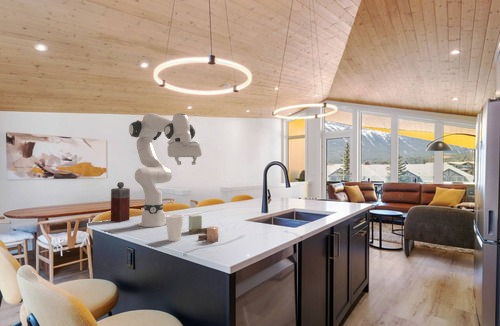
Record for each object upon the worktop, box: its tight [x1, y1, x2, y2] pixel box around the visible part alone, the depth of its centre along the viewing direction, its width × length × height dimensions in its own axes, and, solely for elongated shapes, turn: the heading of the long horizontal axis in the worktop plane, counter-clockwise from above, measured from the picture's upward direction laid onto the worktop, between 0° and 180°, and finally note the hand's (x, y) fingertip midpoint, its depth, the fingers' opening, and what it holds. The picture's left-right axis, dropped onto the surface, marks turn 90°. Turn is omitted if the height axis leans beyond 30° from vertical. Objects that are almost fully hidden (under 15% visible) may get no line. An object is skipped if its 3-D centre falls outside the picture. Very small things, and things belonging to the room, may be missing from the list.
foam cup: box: [165, 213, 185, 242], centre depth 151 cm, size 10×9×13 cm
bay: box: [188, 227, 207, 241], centre depth 160 cm, size 11×16×2 cm
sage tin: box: [188, 214, 203, 231], centre depth 170 cm, size 6×6×10 cm
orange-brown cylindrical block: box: [206, 226, 219, 243], centre depth 149 cm, size 6×6×7 cm
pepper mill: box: [110, 181, 131, 223], centre depth 203 cm, size 9×11×28 cm
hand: (186, 164), depth 157 cm, fingers open, 8 cm apart
